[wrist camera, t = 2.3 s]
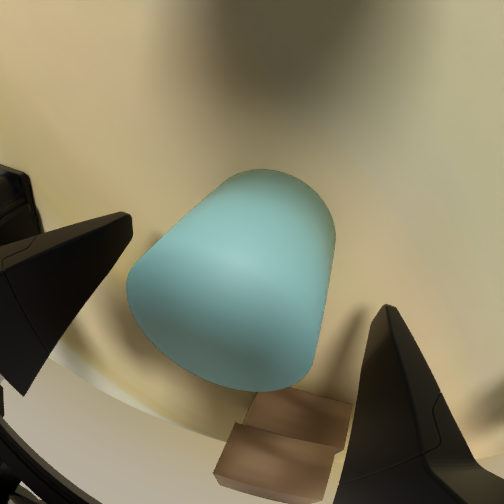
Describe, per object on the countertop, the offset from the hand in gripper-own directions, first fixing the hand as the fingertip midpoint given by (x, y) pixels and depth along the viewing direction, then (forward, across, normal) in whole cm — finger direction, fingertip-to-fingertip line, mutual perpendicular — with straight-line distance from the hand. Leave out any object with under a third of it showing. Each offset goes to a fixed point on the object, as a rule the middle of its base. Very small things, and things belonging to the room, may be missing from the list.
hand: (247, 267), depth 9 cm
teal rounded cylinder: (+2, 0, 0) cm, 2 cm away
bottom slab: (+2, -5, +13) cm, 14 cm away
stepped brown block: (-1, -5, +13) cm, 14 cm away
